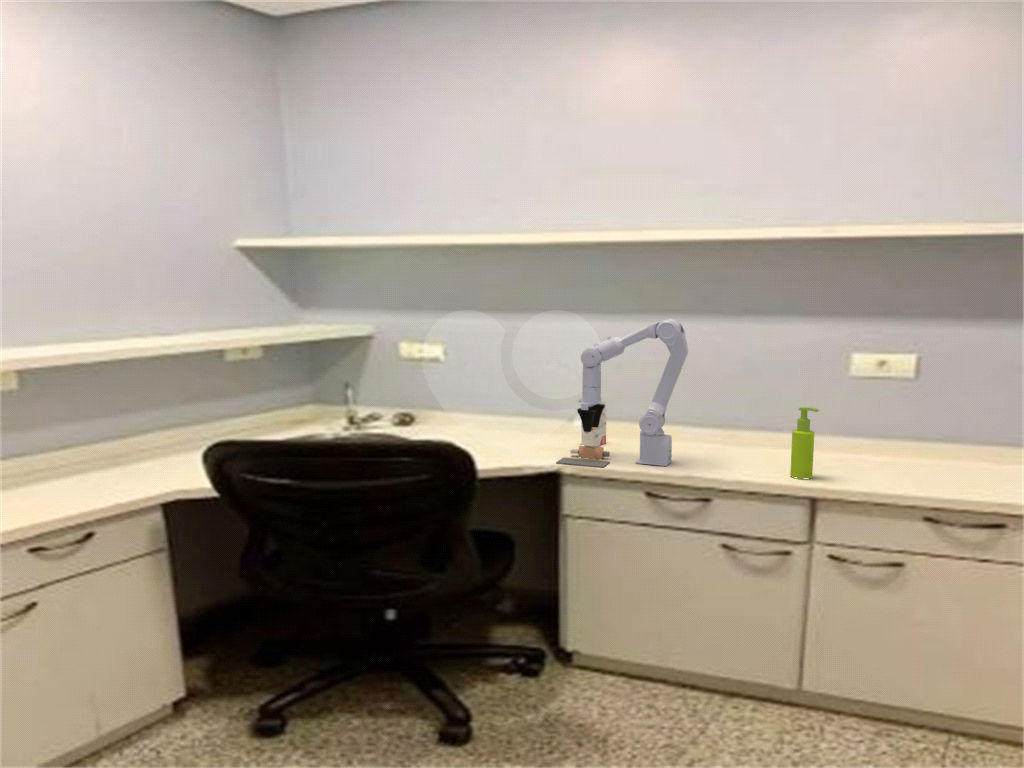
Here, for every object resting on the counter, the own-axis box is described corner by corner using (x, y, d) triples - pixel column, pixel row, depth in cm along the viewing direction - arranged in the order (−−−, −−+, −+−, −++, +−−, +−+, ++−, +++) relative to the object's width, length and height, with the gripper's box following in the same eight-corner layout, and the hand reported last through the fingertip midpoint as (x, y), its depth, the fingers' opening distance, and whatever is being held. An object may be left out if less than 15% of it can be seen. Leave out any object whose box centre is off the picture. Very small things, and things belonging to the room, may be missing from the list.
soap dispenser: (813, 481, 231) (816, 410, 228) (788, 477, 235) (791, 408, 232) (818, 476, 236) (821, 407, 233) (793, 473, 240) (796, 405, 237)
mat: (610, 462, 253) (610, 461, 253) (603, 467, 247) (603, 466, 247) (563, 458, 259) (563, 457, 259) (555, 463, 253) (555, 462, 253)
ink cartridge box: (593, 441, 285) (594, 399, 282) (606, 443, 282) (607, 400, 280) (580, 446, 278) (580, 402, 276) (593, 447, 275) (593, 404, 273)
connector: (610, 458, 260) (610, 447, 260) (607, 460, 256) (607, 450, 256) (573, 455, 265) (573, 444, 264) (569, 457, 261) (569, 447, 261)
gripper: (586, 382, 265) (585, 424, 267) (571, 388, 252) (571, 432, 254) (607, 383, 263) (607, 426, 265) (594, 389, 249) (593, 434, 251)
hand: (591, 429), depth 259 cm, fingers open, 7 cm apart
